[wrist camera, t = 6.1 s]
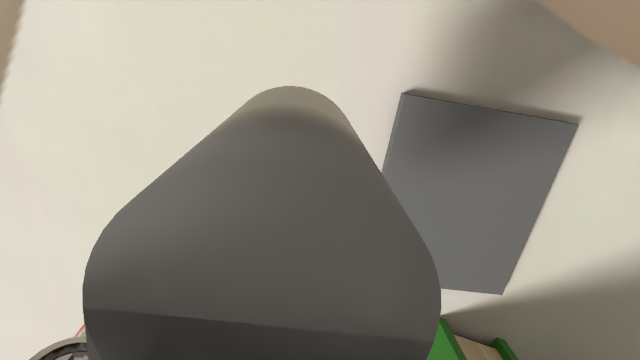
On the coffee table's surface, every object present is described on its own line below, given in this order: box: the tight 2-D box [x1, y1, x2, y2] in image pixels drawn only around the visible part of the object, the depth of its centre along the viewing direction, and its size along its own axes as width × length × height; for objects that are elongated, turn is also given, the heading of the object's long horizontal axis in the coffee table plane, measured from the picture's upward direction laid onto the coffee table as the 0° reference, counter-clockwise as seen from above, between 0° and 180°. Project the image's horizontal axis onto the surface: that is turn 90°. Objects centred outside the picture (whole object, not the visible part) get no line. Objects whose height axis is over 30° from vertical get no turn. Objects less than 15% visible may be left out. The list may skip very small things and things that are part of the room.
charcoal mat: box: [381, 93, 578, 295], centre depth 24 cm, size 12×14×1 cm
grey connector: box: [83, 86, 441, 360], centre depth 7 cm, size 4×10×9 cm, turn 170°
